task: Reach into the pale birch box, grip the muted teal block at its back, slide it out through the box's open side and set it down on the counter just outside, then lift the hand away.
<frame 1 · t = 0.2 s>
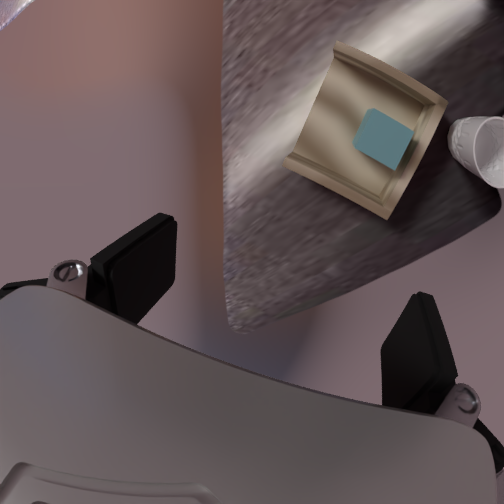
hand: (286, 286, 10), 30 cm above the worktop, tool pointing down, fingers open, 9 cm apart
teal block: (376, 135, 32), resting on birch box
birch box: (362, 127, 32), on the worktop
white cup: (466, 141, 28), on the worktop
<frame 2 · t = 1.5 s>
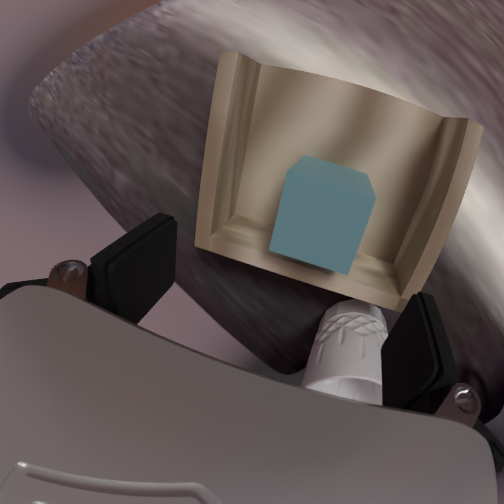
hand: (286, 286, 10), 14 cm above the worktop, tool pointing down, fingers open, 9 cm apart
teal block: (328, 193, 22), resting on birch box
birch box: (334, 168, 21), on the worktop
white cup: (353, 324, 27), on the worktop
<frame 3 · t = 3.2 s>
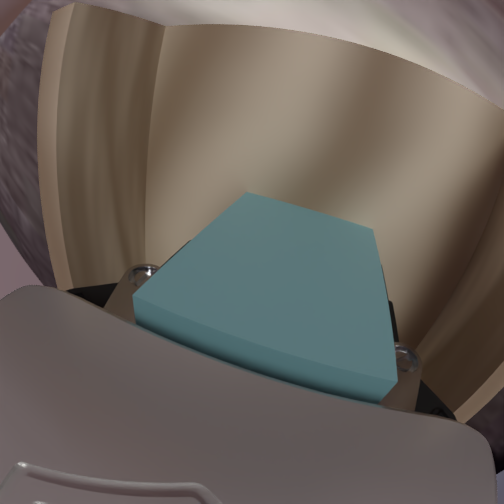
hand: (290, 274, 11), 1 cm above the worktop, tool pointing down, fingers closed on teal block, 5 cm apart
teal block: (294, 265, 12), point 1 cm above the worktop, touching birch box, gripper
birch box: (308, 216, 11), on the worktop
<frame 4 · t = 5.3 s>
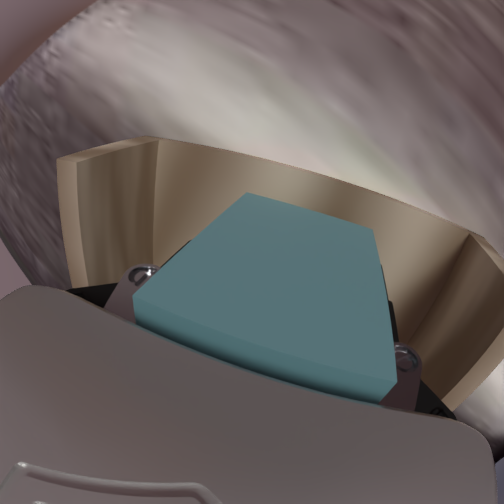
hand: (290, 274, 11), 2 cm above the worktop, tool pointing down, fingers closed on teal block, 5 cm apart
teal block: (294, 265, 12), point 1 cm above the worktop, touching gripper
birch box: (279, 305, 15), on the worktop
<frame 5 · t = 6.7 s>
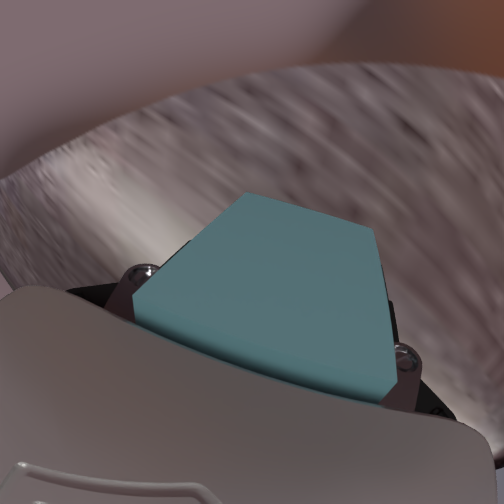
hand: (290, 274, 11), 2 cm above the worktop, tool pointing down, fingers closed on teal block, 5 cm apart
teal block: (294, 265, 12), point 1 cm above the worktop, touching gripper
when the fingers open (2 cm above the worktop, at t = 7.7 s): teal block stays where it is, on the worktop.
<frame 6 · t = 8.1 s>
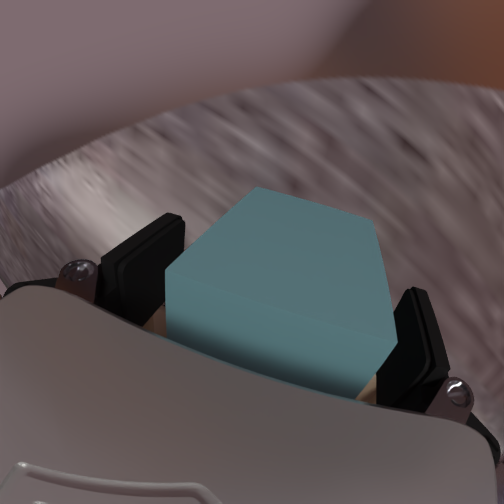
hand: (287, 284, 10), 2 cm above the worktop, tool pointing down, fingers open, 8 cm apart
teal block: (300, 254, 13), on the worktop
birch box: (248, 403, 19), on the worktop
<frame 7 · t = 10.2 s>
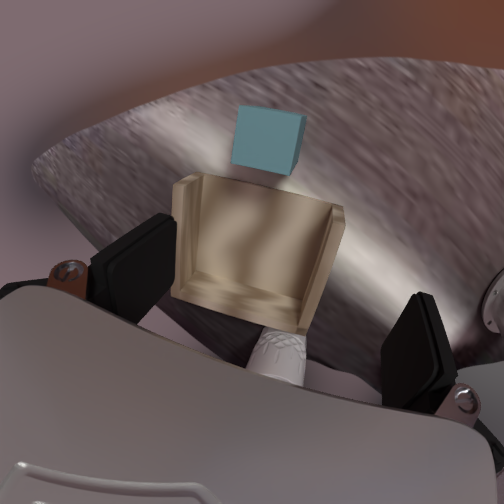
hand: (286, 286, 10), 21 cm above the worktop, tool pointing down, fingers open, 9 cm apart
teal block: (278, 133, 27), on the worktop
birch box: (256, 242, 34), on the worktop
white cup: (283, 337, 40), on the worktop
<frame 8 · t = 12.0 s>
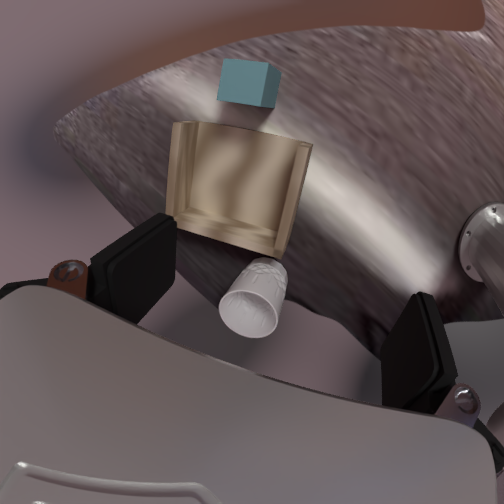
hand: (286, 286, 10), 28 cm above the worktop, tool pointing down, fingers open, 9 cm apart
teal block: (259, 87, 32), on the worktop
birch box: (241, 178, 39), on the worktop
white cup: (267, 275, 45), on the worktop
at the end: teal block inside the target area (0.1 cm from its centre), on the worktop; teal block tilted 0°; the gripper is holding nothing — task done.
